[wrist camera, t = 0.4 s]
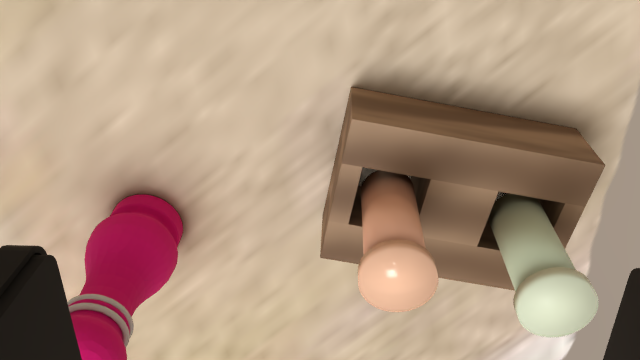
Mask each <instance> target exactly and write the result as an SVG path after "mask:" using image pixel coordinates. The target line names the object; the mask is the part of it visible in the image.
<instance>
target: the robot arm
mask: <svg viewBox="0 0 640 360" xmlns="http://www.w3.org/2000/svg"><path fill="white" fill-rule="evenodd" d="M0 360H82V358H81V354H80V350H79V346H78V342H77V338H76V334H75V331H74V327H73V323H72V319H71V315H70V311H69V307H68V303H67V299H66V296H65V292H64V288H63V284H62V280H61V276H60V272H59V268H58V265H57V261H56V259H55V258H54V256H52V255H47V254H46V251H45V250H44V249H43V248H42V247H40V246H17V245H6V246H2V247H1V248H0ZM603 360H640V268H636V269H633V270H632V271H631V273H630V276H629V278H628V281H627V285H626V288H625V291H624V295H623V298H622V301H621V304H620V307H619V310H618V314H617V317H616V320H615V323H614V326H613V329H612V333H611V336H610V339H609V342H608V345H607V349H606V352H605V355H604V359H603Z"/></svg>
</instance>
